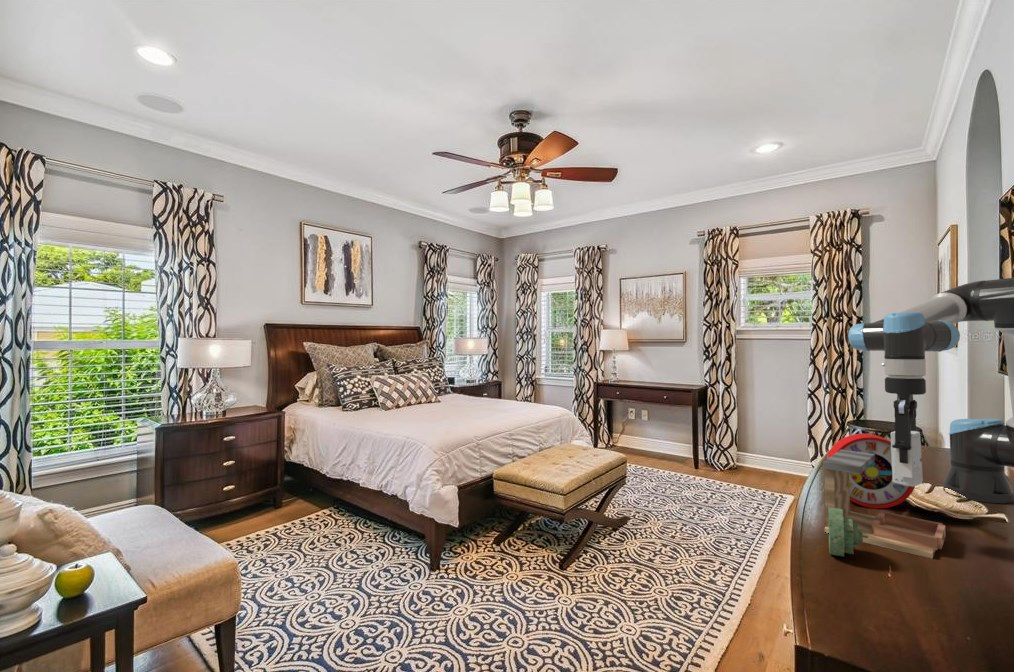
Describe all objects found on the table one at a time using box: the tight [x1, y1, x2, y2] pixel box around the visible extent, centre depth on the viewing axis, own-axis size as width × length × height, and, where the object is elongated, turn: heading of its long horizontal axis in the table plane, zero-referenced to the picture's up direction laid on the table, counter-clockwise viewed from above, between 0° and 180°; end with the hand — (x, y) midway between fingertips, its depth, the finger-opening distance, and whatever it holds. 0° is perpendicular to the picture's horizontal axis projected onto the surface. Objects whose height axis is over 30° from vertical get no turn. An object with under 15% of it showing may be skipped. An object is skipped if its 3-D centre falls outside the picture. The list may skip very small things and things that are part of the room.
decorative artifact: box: [828, 507, 868, 558], centre depth 105 cm, size 10×7×10 cm
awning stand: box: [822, 450, 947, 560], centre depth 116 cm, size 18×21×18 cm
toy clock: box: [826, 433, 916, 509], centre depth 137 cm, size 20×6×20 cm, turn 68°
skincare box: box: [890, 430, 924, 487], centre depth 113 cm, size 6×4×12 cm
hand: (906, 473), depth 113 cm, fingers closed on skincare box, 6 cm apart
